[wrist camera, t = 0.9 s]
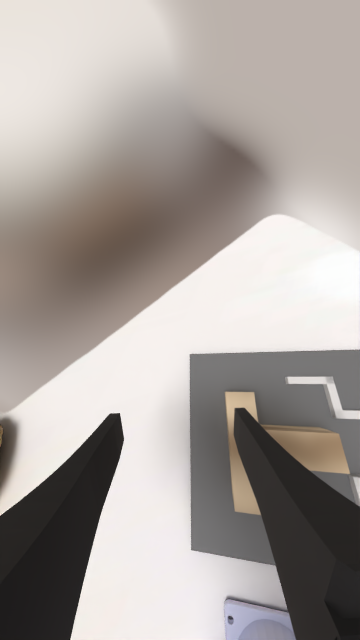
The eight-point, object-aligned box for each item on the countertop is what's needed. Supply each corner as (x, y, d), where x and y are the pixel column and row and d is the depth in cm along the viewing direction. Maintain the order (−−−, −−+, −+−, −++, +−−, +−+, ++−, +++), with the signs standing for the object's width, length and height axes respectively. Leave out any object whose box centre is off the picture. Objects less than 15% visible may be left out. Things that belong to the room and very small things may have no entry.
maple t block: (338, 504, 17) (365, 529, 14) (232, 492, 19) (234, 511, 16) (311, 393, 21) (327, 393, 18) (224, 391, 23) (225, 391, 20)
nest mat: (491, 598, 14) (518, 618, 13) (192, 545, 19) (190, 556, 17) (385, 350, 22) (395, 347, 20) (190, 355, 26) (189, 353, 25)
